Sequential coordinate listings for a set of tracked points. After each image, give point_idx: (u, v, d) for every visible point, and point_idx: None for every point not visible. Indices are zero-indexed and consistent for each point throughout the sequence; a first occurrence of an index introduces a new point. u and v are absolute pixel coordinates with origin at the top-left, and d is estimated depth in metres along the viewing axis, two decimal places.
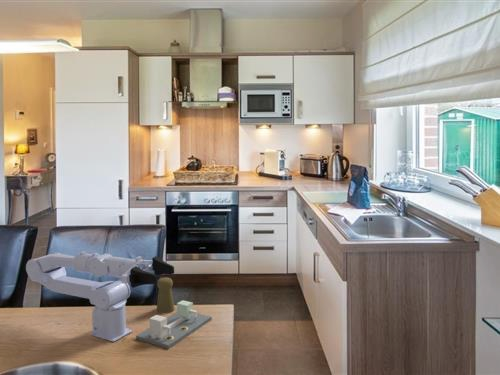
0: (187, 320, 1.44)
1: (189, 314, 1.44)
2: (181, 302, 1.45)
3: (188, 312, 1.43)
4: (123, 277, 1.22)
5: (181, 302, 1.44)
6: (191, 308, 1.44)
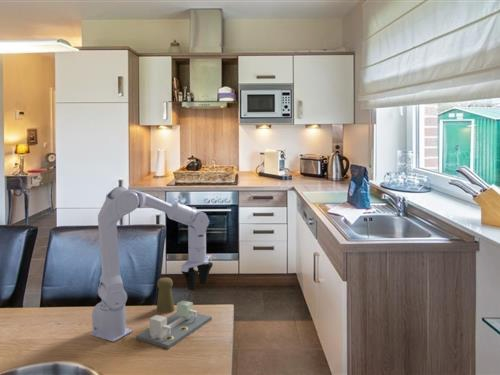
0: (187, 320, 1.44)
1: (189, 314, 1.44)
2: (181, 302, 1.45)
3: (188, 312, 1.43)
4: (185, 268, 1.42)
5: (181, 302, 1.44)
6: (191, 308, 1.44)
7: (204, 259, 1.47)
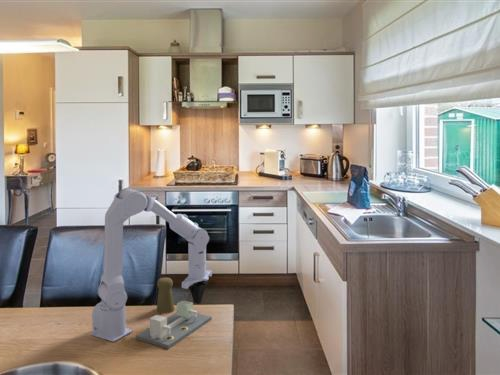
0: (187, 320, 1.44)
1: (189, 314, 1.44)
2: (181, 302, 1.45)
3: (188, 312, 1.43)
4: (185, 285, 1.43)
5: (181, 302, 1.44)
6: (191, 308, 1.44)
7: (204, 275, 1.48)
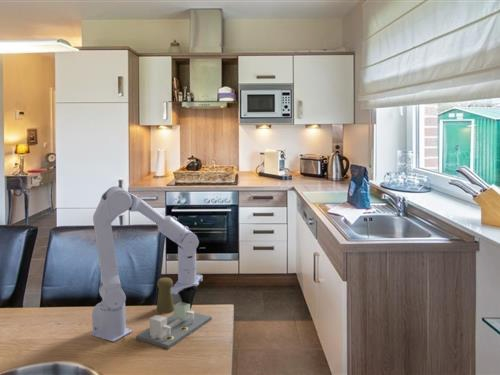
0: (187, 320, 1.44)
1: (186, 316, 1.42)
2: (178, 303, 1.44)
3: (185, 314, 1.42)
4: (174, 290, 1.38)
5: (179, 304, 1.43)
6: (188, 310, 1.43)
7: (194, 280, 1.43)
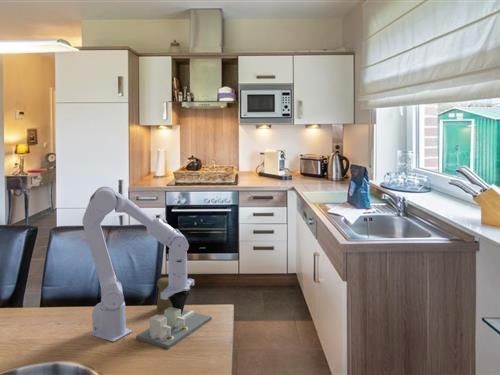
0: (187, 320, 1.44)
1: (177, 321, 1.38)
2: (169, 309, 1.39)
3: (176, 319, 1.38)
4: (164, 295, 1.34)
5: (169, 309, 1.39)
6: (179, 315, 1.39)
7: (185, 285, 1.39)
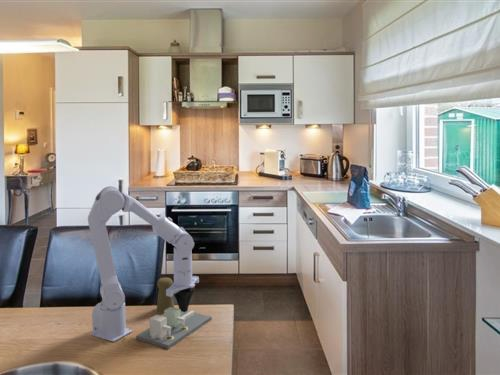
0: (187, 320, 1.44)
1: (177, 321, 1.38)
2: (169, 309, 1.39)
3: (176, 319, 1.38)
4: (170, 292, 1.36)
5: (169, 309, 1.39)
6: (179, 315, 1.39)
7: (190, 282, 1.41)
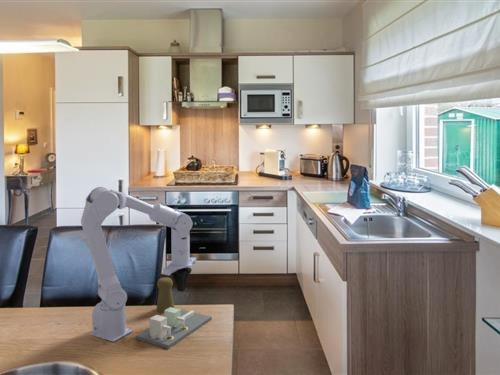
0: (187, 320, 1.44)
1: (177, 321, 1.38)
2: (169, 309, 1.39)
3: (176, 319, 1.38)
4: (167, 271, 1.39)
5: (169, 309, 1.39)
6: (179, 315, 1.39)
7: (187, 262, 1.44)
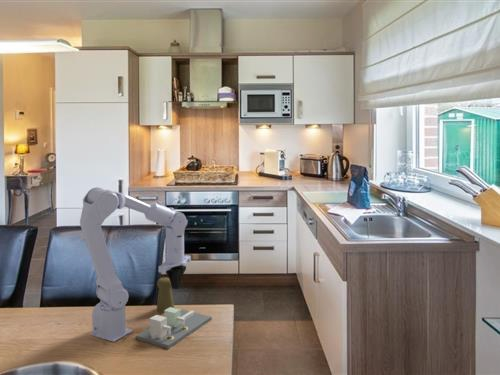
0: (187, 320, 1.44)
1: (177, 321, 1.38)
2: (169, 309, 1.39)
3: (176, 319, 1.38)
4: (162, 269, 1.41)
5: (169, 309, 1.39)
6: (179, 315, 1.39)
7: (182, 260, 1.46)
